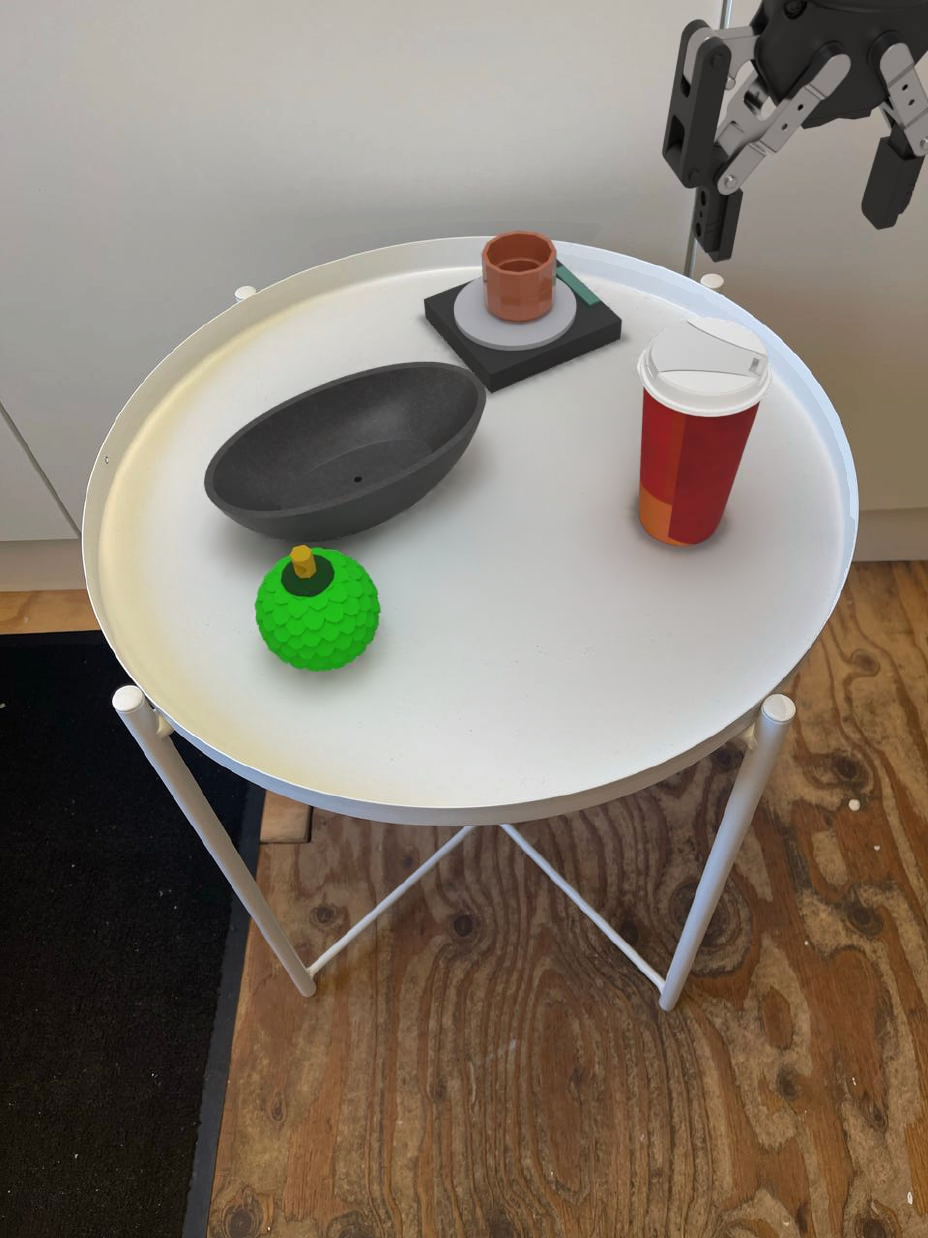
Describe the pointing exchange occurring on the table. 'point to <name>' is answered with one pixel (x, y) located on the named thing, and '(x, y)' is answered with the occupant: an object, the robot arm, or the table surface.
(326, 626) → the ornament
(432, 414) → the bowl
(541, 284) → the small bowl
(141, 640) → the table surface
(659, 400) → the coffee cup
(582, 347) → the scale
